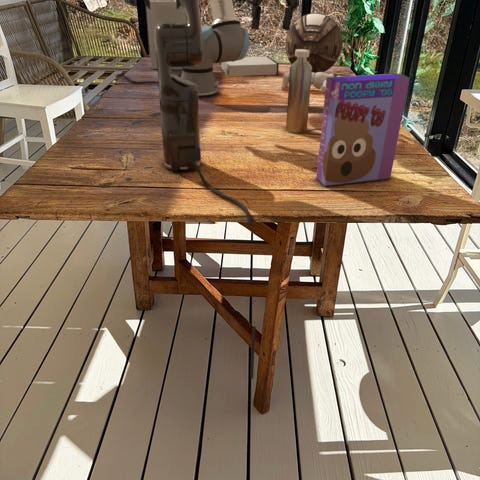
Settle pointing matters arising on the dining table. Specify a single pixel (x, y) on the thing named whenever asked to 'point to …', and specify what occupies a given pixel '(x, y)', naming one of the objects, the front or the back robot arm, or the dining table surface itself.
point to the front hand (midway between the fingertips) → (163, 8)
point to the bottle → (298, 95)
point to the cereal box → (360, 127)
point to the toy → (312, 80)
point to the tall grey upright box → (162, 21)
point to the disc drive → (251, 66)
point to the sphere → (315, 41)
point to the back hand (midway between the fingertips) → (270, 29)
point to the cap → (302, 53)
